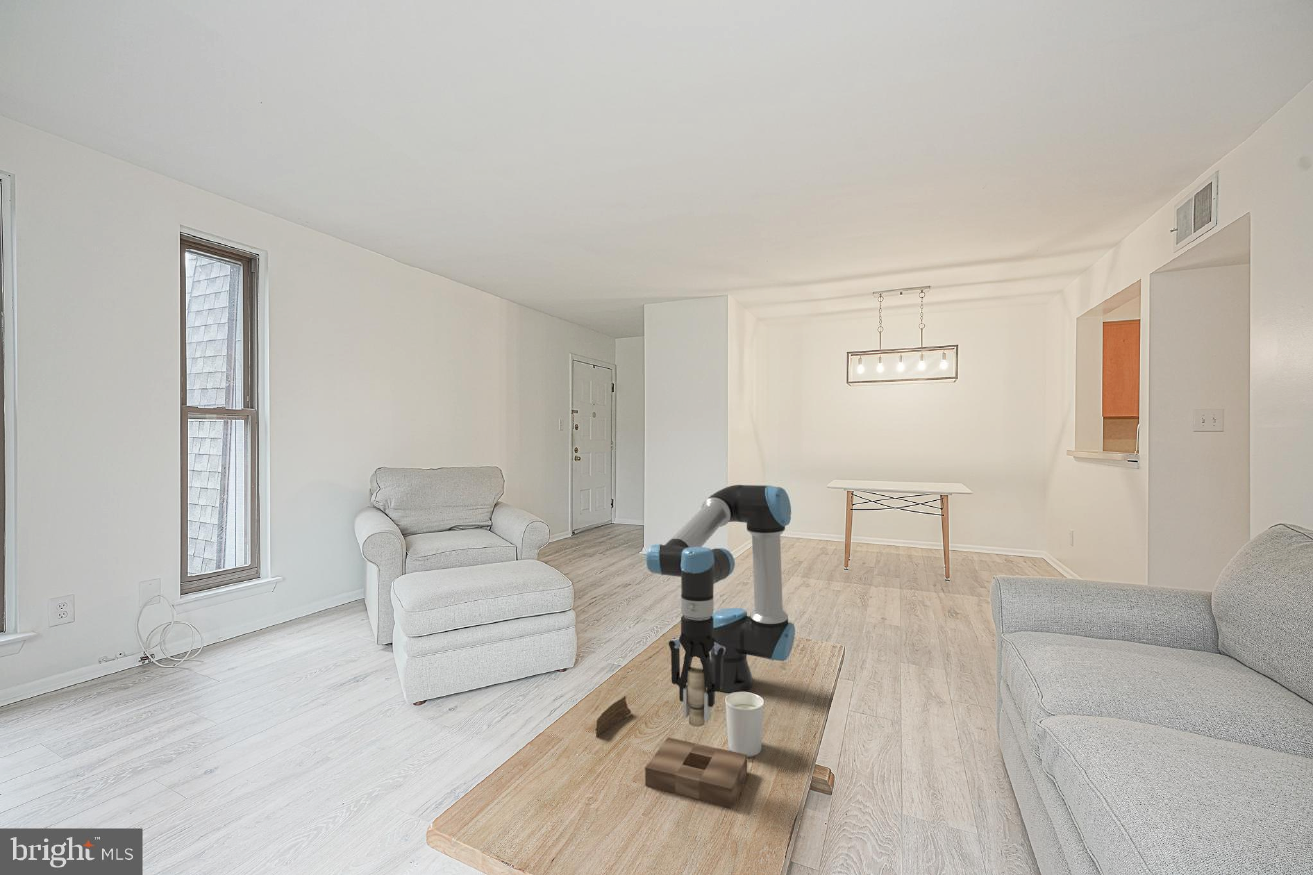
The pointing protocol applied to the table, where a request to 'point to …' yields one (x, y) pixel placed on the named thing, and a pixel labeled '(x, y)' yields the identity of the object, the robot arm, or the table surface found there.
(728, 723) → the candle holder
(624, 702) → the wood plank
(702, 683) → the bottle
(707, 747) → the wooden block with hole
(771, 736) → the table surface
